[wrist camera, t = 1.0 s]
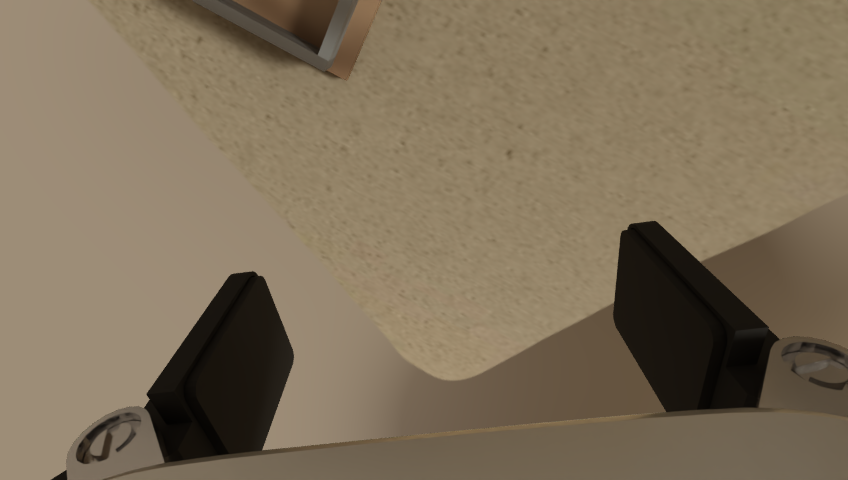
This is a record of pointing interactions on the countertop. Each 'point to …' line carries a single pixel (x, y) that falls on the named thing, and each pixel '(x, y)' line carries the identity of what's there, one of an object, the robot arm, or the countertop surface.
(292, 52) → the shaker caddy
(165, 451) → the robot arm
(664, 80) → the countertop surface
